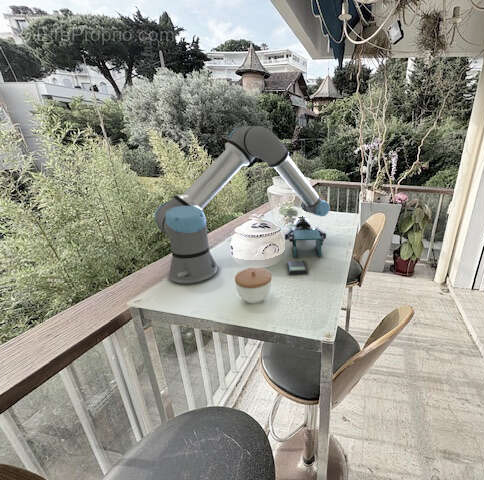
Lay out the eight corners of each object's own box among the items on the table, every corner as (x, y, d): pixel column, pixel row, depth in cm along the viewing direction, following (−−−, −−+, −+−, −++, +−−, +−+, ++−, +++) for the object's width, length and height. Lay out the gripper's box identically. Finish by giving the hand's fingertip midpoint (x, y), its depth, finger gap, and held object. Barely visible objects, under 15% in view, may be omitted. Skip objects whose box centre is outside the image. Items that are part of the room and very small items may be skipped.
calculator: (288, 264, 105) (288, 260, 104) (304, 263, 106) (304, 260, 105) (289, 274, 97) (289, 270, 96) (306, 273, 98) (306, 270, 97)
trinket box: (252, 312, 75) (250, 284, 72) (229, 298, 81) (226, 271, 78) (279, 296, 83) (278, 270, 80) (256, 285, 89) (255, 259, 86)
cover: (293, 247, 120) (293, 230, 117) (316, 247, 122) (317, 229, 119) (294, 258, 110) (294, 239, 107) (320, 257, 112) (321, 238, 109)
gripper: (325, 233, 134) (334, 250, 114) (278, 234, 130) (279, 252, 110) (326, 218, 131) (335, 233, 111) (278, 219, 127) (279, 235, 107)
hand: (307, 242), depth 110 cm, fingers closed on cover, 11 cm apart
